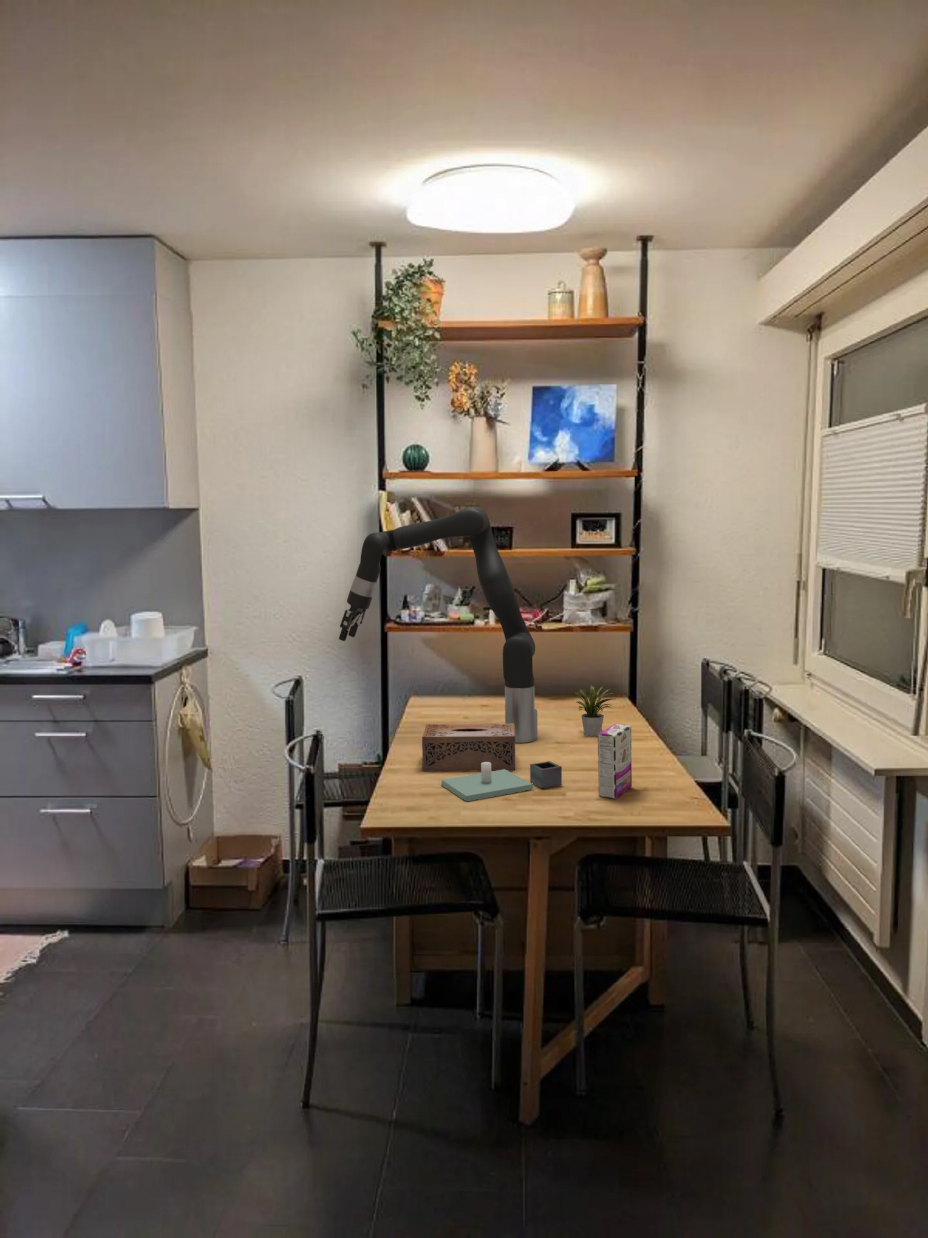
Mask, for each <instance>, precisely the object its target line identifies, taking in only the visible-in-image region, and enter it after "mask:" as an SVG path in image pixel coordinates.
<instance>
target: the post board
mask: <svg viewBox="0 0 928 1238" xmlns="http://www.w3.org/2000/svg"><path fill="white" fill-rule="evenodd" d="M533 785H534V784H532V783H530V781H528V780H525V779H523V778H522V777H520V776H518V775H516V774H514V773H513V772H511V771H510V770H505V769H503V770H496V771H491V763H490V762H482V763H481V771H480V773H479V772H478V773H474V774H468V775H463V776H462V775H461V776H456V777H451V778H450V777H449V778H443V779H441V786H442V787H444V788H446V789H447V790H448V791H450V792H451V793H452V794H454V795H456V796H457V797H458V798H460V797H461V798H460V799H461V800H463V799H464V800H463V801H465V802H467V801H468V802H473V801H477V800H476V799H479V800H484V799H483V798H485V799H488V798H487V797H490V798H494V797H493V796H496V797H499V796H500V797H501V796H506V795H505V794H507V795H512V794H516V793H515V792H518V793H523V792H526V791H525V790H529V791H532V789H533ZM533 790H534V789H533ZM522 791H523V792H522Z"/></svg>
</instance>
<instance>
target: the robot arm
mask: <svg viewBox="0 0 928 1238" xmlns="http://www.w3.org/2000/svg"><path fill="white" fill-rule="evenodd" d="M489 519H490V518H489V516H488V514H487V513H486V511H485V510H484V509H482V508H481V507H477V506H468V507H467V506H466V507H464V508H463V509H460V510H459V511H455V512H454V513H452V514H449V515H447V516H444V517H440V518H437V519H432V520H427V521H422V522H417V523H411V524H408V525H403V526H399V527H397V528H394V529H389V530H385V531H380V532H378V531H377V532H371V533H369V534H368V535H367V536H366V537H365V539H364V540H363V543H362V548H361V553H360V561H359V564H358V567H357V571H356V574H355V576H354V579H353V580H352V583H351V587H350V590H349V592H348V595H347V598H346V603H347V604H348V605H350V607H349V609H345V610H344V612H343V613H344V614H343V616H342V618H341V623H340V625H339V627H340V628H341V631H340V634H339V635H338V636H339V637H338V639H339V640H340V641H342V642H345V641H347V637H351V638H355V637H356V634H357V632H358V628H359V627H360V625H362V624H363V621H364V619H365V614H366V611H367V610H369V608H370V606H371V602H372V600H373V597H374V593H375V591H376V586H377V583H378V579H379V576H380V574H381V569H382V567H381V565H380V563H381V559H382V555H385V554H388V553H391V552H395V551H398V550H406V549H411V548H414V547H419V546H422V545H426V544H429V543H431V542H435V541H438V540H442V539H447V538H455V537H456V538H457V537H458V538H459V537H467V539H468V541H469V543H470V546H471V548H472V550H473V554H474V557H475V563H476V571H477V577H478V581H479V585H480V588H481V591H482V593H483V595H484V598H485V600H486V603H487V604H488V606H489V607H490V610H491V611H492V612H493V613H494V615H495V617H496V618H497V620H498V622H499V624H500V626H501V628H502V633H503V635H504V639H505V642H504V643H503V646H502V670H503V671H502V672H503V673H502V674H503V679H504V710H505V712H504V713H505V714H504V718H505V722H504V724H512V723H514V728H515V744H525V743H530V742H534V741H536V740H538V710H537V709H536V708H535V701H536V700H535V696H536V695H535V677H534V673H533V672H534V671H533V665H534V664H533V657H534V656H535V652H536V643H535V640H534V639H533V636H532V635H531V633H530V631H529V629H528V627H527V624H526V622H525V621H524V617H523V615H522V613H521V609H520V606H519V602H518V599H517V596H516V593H515V590H514V587H513V583H512V581H511V579H510V576H509V572H508V571H507V569H506V565H505V563H504V561H503V558H502V557H501V554H500V552H499V551H498V548H497V545H496V542H495V537H494V535H493V529H492V528H491V523H490V520H489Z"/></svg>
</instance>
